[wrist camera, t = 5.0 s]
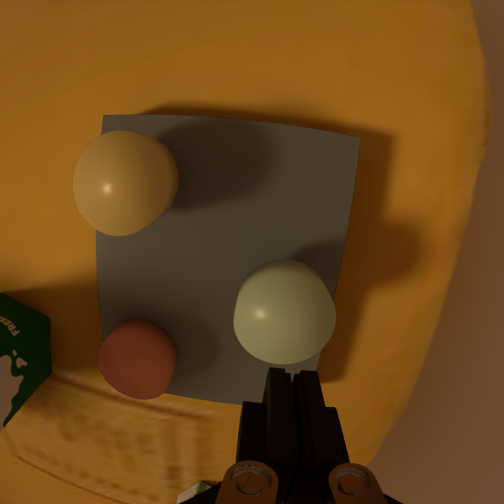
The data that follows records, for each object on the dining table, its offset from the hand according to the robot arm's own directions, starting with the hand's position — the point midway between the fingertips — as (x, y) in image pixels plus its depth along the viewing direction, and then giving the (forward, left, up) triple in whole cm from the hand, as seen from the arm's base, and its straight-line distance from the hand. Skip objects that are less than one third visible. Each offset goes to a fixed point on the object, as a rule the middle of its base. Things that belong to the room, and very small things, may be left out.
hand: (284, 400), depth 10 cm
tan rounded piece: (-6, -9, -11) cm, 15 cm away
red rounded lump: (+6, -9, -12) cm, 16 cm away
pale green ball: (0, 0, -11) cm, 11 cm away
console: (0, -4, -13) cm, 14 cm away
